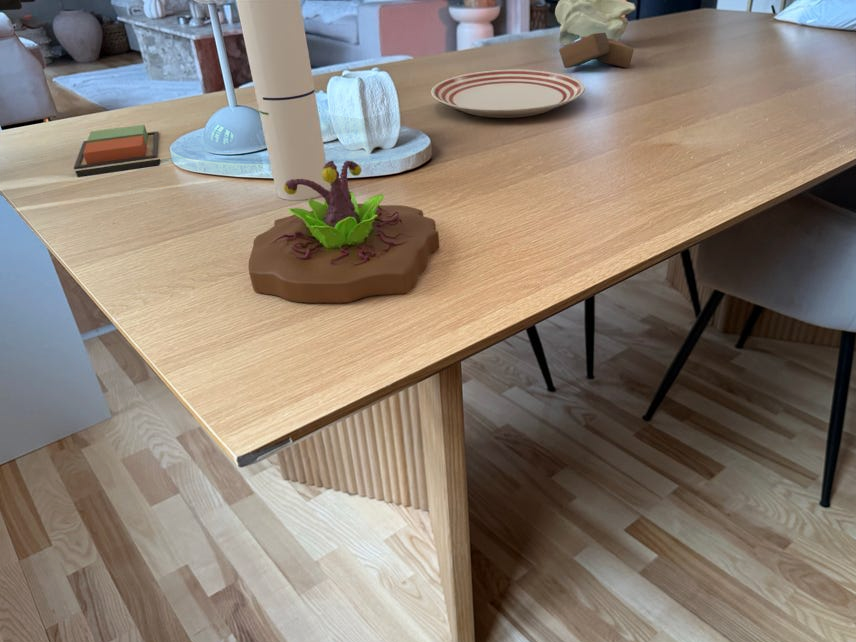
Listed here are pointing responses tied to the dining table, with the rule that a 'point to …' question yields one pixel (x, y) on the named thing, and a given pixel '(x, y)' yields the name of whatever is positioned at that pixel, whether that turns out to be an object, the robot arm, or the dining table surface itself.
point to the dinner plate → (507, 92)
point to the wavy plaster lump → (591, 18)
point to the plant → (342, 246)
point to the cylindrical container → (284, 92)
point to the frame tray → (117, 167)
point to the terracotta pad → (115, 149)
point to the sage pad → (118, 133)
